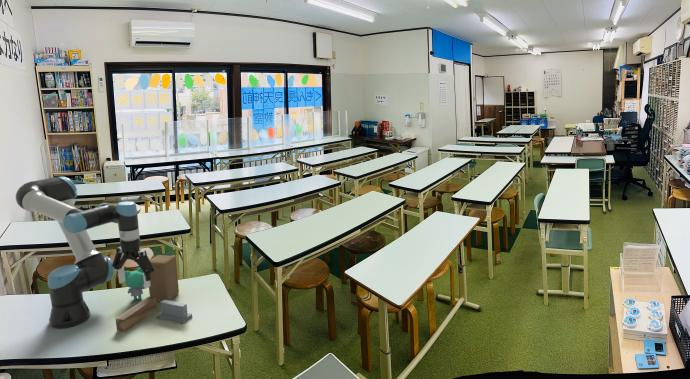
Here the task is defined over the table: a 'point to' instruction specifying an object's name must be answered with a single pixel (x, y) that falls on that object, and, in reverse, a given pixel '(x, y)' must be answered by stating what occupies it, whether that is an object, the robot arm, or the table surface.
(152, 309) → the beam
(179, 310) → the ridge stand
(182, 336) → the table surface
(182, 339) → the table surface
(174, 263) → the wooden block
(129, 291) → the toy
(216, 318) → the table surface
